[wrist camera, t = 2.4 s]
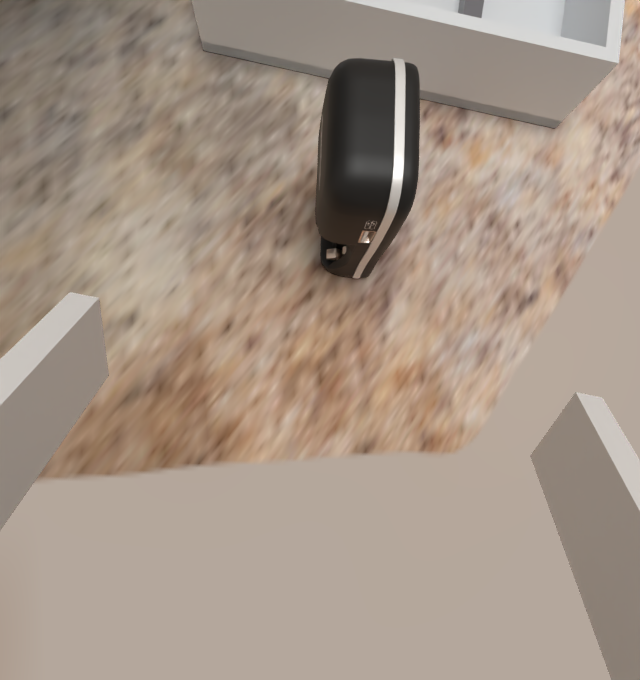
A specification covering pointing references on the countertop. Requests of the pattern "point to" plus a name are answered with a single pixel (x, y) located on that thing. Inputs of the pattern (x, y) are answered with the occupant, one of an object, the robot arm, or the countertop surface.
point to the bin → (436, 45)
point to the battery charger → (366, 161)
